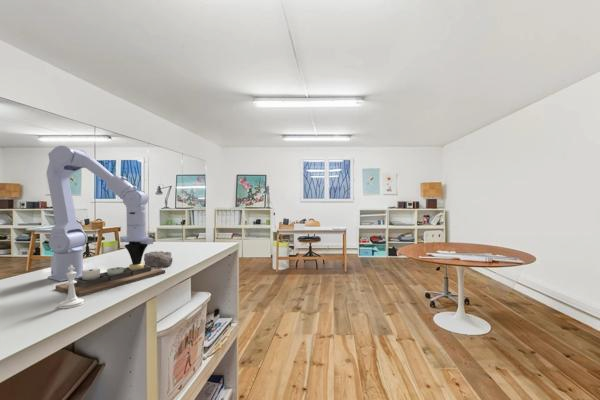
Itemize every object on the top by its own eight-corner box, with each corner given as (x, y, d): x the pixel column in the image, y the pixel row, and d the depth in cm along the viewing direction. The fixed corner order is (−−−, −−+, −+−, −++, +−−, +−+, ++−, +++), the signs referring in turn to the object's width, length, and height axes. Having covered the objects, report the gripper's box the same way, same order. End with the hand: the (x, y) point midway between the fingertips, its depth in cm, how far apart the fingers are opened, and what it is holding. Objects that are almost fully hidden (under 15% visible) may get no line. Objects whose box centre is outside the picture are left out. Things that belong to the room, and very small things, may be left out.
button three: (126, 271, 95) (126, 264, 95) (139, 268, 98) (138, 261, 98) (134, 273, 93) (134, 265, 93) (146, 270, 96) (146, 262, 96)
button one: (78, 279, 82) (78, 270, 82) (95, 275, 86) (95, 267, 86) (86, 281, 80) (86, 272, 80) (103, 277, 84) (103, 268, 84)
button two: (104, 277, 88) (104, 269, 88) (118, 273, 92) (118, 265, 92) (112, 278, 86) (112, 270, 86) (126, 275, 90) (126, 267, 90)
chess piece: (69, 309, 66) (69, 268, 66) (53, 307, 67) (52, 267, 67) (89, 301, 71) (88, 263, 71) (73, 300, 72) (73, 262, 72)
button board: (55, 289, 81) (55, 280, 81) (141, 268, 104) (140, 261, 104) (80, 296, 75) (80, 286, 74) (165, 273, 98) (165, 265, 98)
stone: (173, 266, 107) (173, 251, 107) (144, 270, 102) (144, 255, 102) (171, 262, 114) (170, 248, 114) (143, 266, 109) (143, 251, 109)
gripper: (111, 225, 95) (111, 264, 95) (139, 226, 89) (140, 268, 89) (130, 223, 101) (131, 260, 101) (158, 224, 95) (159, 263, 95)
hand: (136, 263), depth 95 cm, fingers closed, pressing on button three
